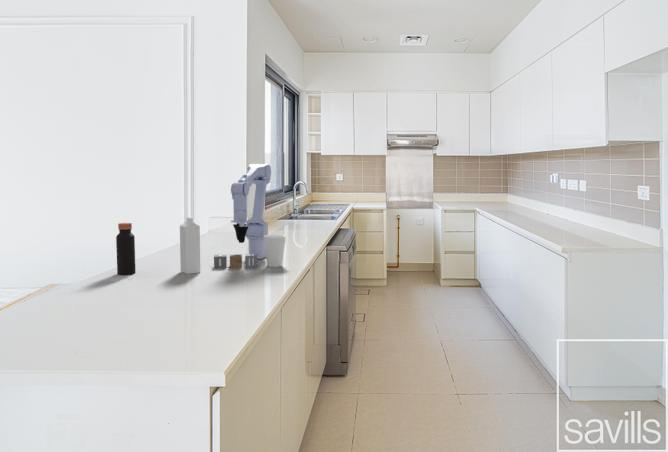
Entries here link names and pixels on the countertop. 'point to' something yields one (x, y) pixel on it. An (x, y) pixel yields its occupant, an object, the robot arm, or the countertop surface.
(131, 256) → the bottle
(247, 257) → the slate block
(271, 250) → the foam cup
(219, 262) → the charcoal block
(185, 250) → the milk
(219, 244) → the countertop surface
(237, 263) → the walnut block
